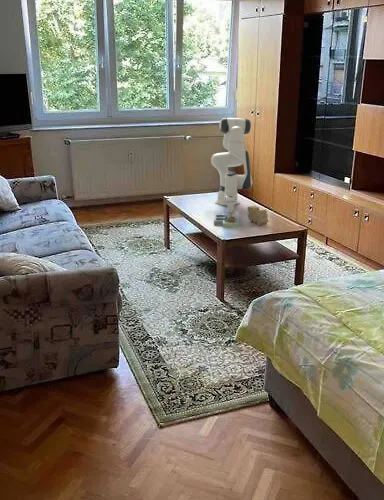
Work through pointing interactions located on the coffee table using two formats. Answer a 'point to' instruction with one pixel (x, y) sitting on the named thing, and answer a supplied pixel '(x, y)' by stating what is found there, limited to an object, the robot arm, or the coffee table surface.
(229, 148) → the robot arm
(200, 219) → the coffee table surface
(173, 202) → the coffee table surface
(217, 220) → the trap lane
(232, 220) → the block
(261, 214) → the toy train
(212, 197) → the coffee table surface
